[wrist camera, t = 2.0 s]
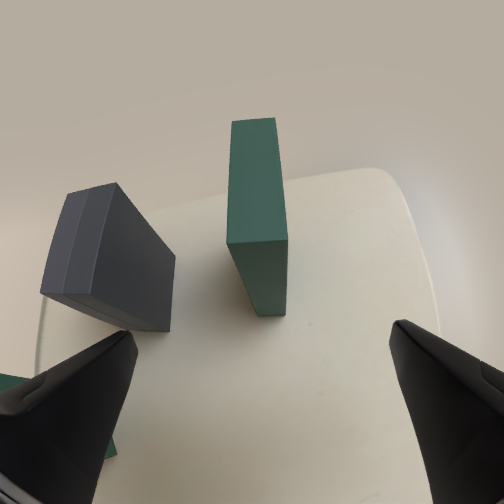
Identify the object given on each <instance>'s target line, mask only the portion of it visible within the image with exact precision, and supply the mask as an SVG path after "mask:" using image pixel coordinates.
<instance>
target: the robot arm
mask: <svg viewBox="0 0 504 504" xmlns="http://www.w3.org/2000/svg"><path fill="white" fill-rule="evenodd" d="M389 346H390V350H391V354H392V358H393V362H394V366H395V370H396V374H397V378H398V382H399V385H400V388H401V391H402V393H403V396H404V399H405V402H406V405H407V408H408V411H409V414H410V417H411V420H412V423H413V426H414V429H415V433H416V436H417V439H418V443H419V446H420V450H421V453H422V457H423V461H424V465H425V468H426V472H427V477H428V481H429V484H430V485H429V486H430V490H431V495H432V500H433V504H504V372H502V371H499V370H498V369H496V368H494V367H492V366H490V365H488V364H487V363H485V362H483V361H480V360H479V359H478V358H476V357H474V356H472V355H470V354H469V353H467V352H465V351H463V350H461V349H459V348H458V347H456V346H454V345H452V344H450V343H448V342H447V341H445V340H443V339H441V338H439V337H438V336H436V335H434V334H432V333H430V332H428V331H426V330H425V329H423V328H421V327H419V326H417V325H415V324H414V323H412V322H410V321H408V320H406V319H403V320H396V321H395V322H394V323H393V327H392V331H391V336H390V340H389ZM137 356H138V348H137V346H136V343H135V341H134V338H133V335H132V333H131V332H130V331H124V330H120V331H118V332H116V333H114V334H112V335H110V336H109V337H107V338H105V339H103V340H101V341H100V342H98V343H96V344H94V345H92V346H90V347H89V348H87V349H85V350H83V351H81V352H80V353H78V354H76V355H74V356H72V357H70V358H69V359H67V360H65V361H63V362H61V363H59V364H58V365H56V366H54V367H52V368H50V369H48V370H47V371H45V372H43V373H41V374H39V375H37V376H35V377H33V378H32V379H30V380H27V381H25V382H23V383H21V384H19V385H17V386H14V387H12V388H10V389H8V390H5V391H3V392H1V393H0V504H92V501H93V497H94V493H95V489H96V486H97V481H98V478H99V475H100V472H101V468H102V465H103V462H104V459H105V455H106V452H107V449H108V446H109V443H110V440H111V437H112V434H113V431H114V428H115V425H116V423H117V420H118V417H119V414H120V411H121V409H122V406H123V403H124V400H125V398H126V395H127V392H128V389H129V386H130V383H131V379H132V375H133V371H134V367H135V364H136V360H137Z"/></svg>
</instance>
